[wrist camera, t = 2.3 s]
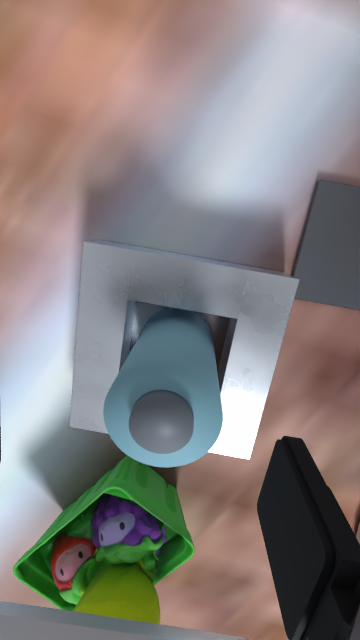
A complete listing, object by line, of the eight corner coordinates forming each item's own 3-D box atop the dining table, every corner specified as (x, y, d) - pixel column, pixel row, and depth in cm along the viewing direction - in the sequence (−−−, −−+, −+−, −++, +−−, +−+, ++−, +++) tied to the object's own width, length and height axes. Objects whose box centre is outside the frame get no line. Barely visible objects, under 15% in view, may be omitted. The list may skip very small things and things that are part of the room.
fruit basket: (130, 430, 24) (72, 597, 13) (210, 498, 25) (219, 702, 14) (42, 509, 26) (-66, 702, 16) (119, 567, 28) (68, 781, 17)
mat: (435, 201, 18) (440, 200, 18) (392, 314, 20) (396, 316, 20) (317, 181, 18) (320, 180, 18) (286, 296, 20) (287, 297, 20)
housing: (284, 272, 20) (299, 279, 17) (242, 430, 23) (249, 459, 20) (100, 239, 20) (83, 241, 17) (85, 402, 23) (69, 426, 20)
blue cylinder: (219, 314, 21) (236, 381, 12) (205, 380, 22) (210, 487, 13) (146, 301, 21) (105, 358, 12) (137, 368, 22) (93, 466, 13)
